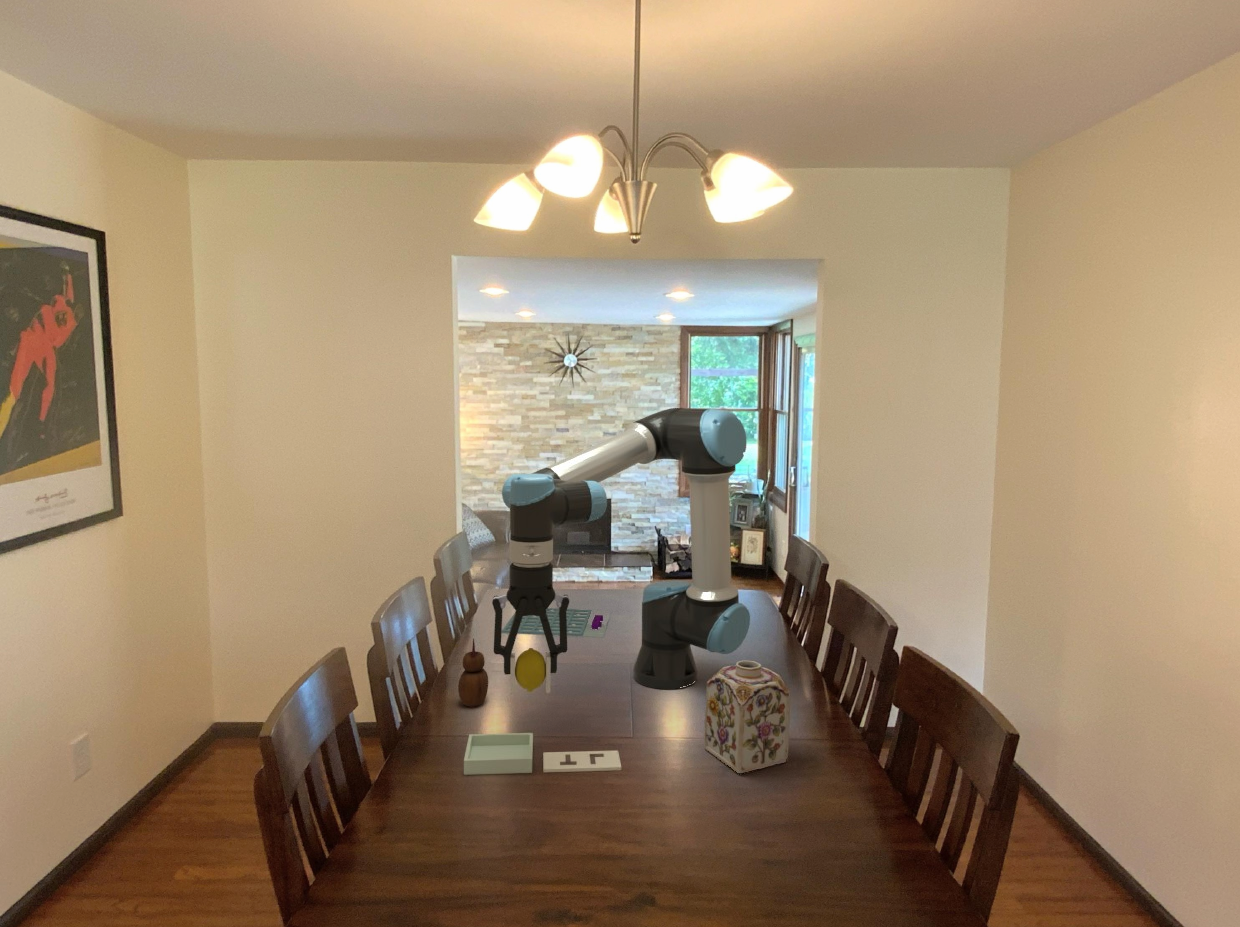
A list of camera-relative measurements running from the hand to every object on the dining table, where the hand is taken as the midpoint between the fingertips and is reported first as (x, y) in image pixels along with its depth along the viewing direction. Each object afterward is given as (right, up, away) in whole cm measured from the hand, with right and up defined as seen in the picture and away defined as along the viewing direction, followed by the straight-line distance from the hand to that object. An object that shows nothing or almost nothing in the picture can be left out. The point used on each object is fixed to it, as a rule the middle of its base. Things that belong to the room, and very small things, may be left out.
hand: (530, 690), depth 138 cm
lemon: (0, 0, 0) cm, 1 cm away
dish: (-6, -14, +5) cm, 16 cm away
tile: (+9, -15, +4) cm, 18 cm away
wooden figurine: (-16, -12, +30) cm, 36 cm away
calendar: (-2, -7, +90) cm, 91 cm away
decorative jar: (+40, -15, +8) cm, 43 cm away
